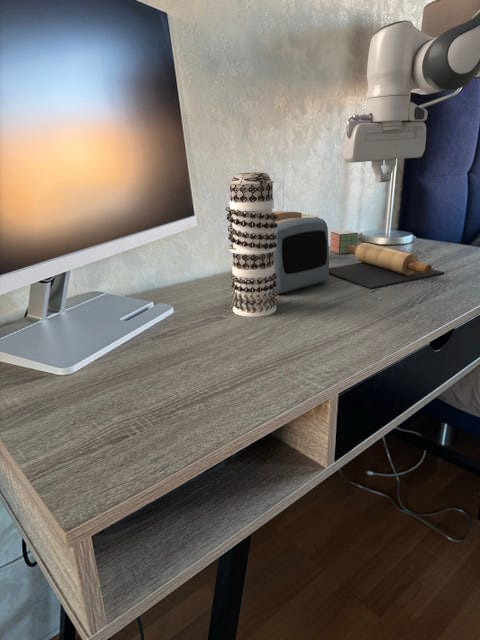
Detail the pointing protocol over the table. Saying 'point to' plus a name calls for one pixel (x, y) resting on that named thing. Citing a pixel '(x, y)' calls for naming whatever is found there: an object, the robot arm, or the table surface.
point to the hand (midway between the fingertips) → (382, 182)
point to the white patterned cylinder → (252, 244)
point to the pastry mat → (375, 275)
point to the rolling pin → (389, 259)
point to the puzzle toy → (342, 240)
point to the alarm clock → (299, 251)
